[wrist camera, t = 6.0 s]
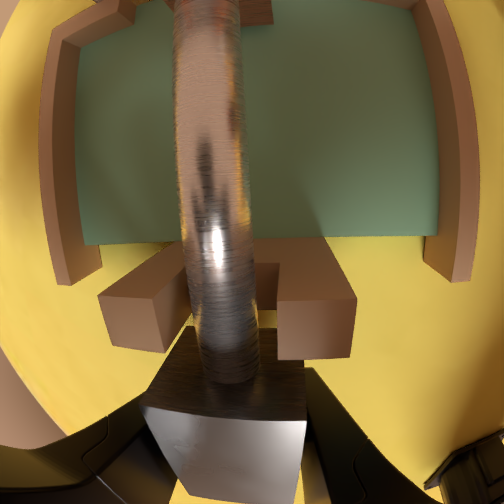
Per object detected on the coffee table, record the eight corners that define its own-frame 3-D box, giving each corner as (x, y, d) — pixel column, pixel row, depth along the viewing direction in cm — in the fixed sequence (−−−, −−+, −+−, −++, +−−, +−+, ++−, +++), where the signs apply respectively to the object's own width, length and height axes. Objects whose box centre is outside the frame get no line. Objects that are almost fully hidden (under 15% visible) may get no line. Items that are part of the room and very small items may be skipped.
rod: (295, 407, 9) (293, 505, 5) (218, 404, 9) (189, 495, 5) (279, -10, 5) (268, -107, 1) (183, 3, 6) (120, -73, 1)
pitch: (440, 260, 8) (524, 324, 4) (88, 267, 10) (4, 318, 5) (415, 5, 5) (467, -56, 1) (81, 42, 7) (4, 11, 3)
